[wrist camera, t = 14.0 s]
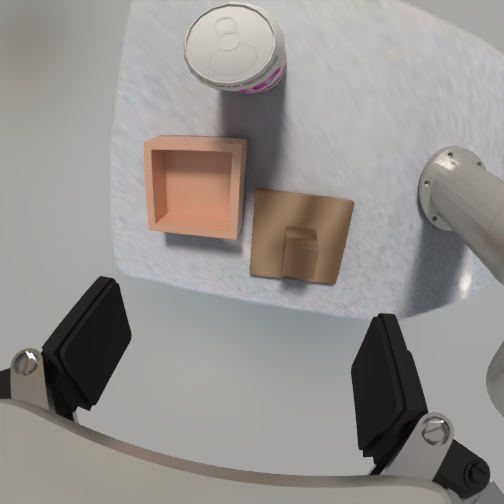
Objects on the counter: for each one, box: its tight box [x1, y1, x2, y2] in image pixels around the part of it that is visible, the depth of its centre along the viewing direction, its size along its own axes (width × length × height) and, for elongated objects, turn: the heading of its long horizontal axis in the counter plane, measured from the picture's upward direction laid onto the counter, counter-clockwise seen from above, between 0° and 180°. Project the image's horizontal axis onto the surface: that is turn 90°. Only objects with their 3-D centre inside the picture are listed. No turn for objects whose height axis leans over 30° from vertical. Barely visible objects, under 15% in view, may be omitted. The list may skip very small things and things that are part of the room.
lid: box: [250, 189, 354, 284], centre depth 38 cm, size 13×13×7 cm
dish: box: [144, 136, 248, 240], centre depth 37 cm, size 12×12×5 cm
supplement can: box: [184, 2, 286, 94], centre depth 24 cm, size 8×8×15 cm
